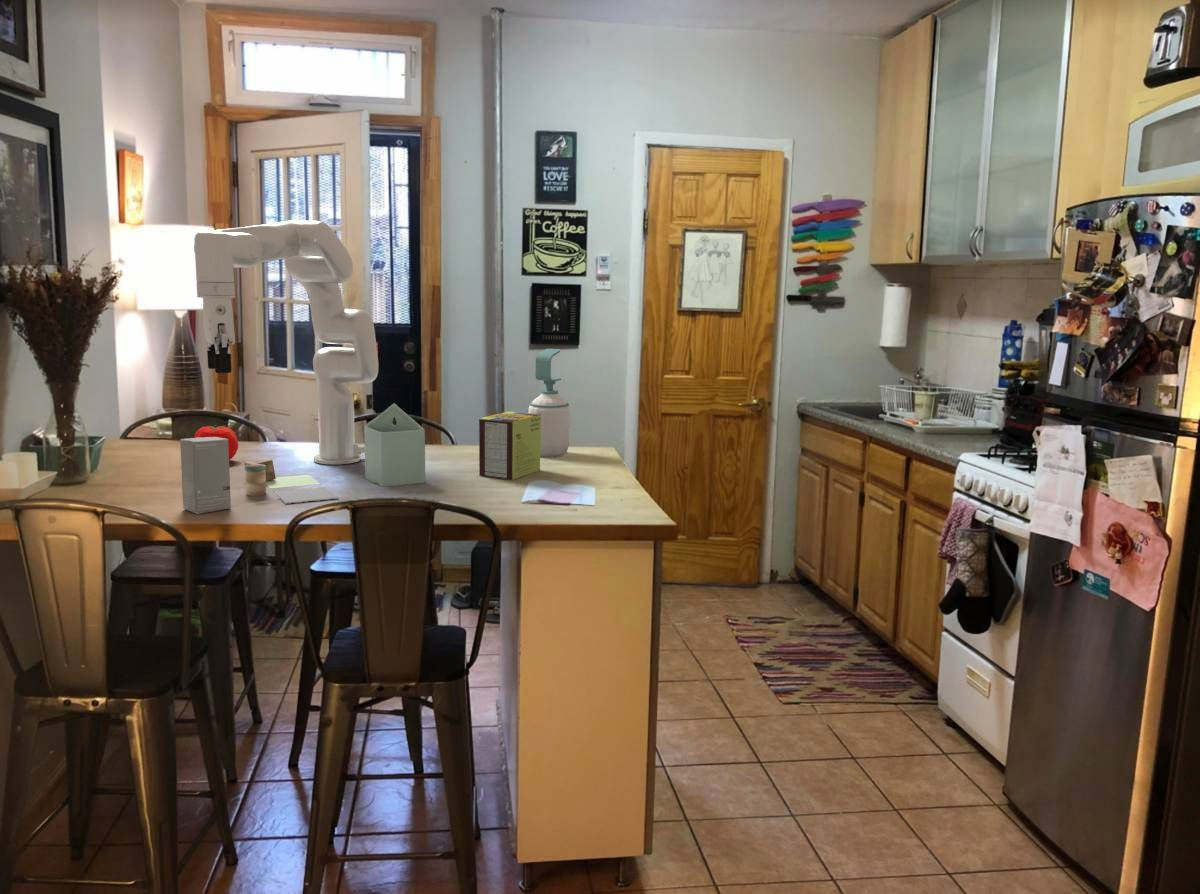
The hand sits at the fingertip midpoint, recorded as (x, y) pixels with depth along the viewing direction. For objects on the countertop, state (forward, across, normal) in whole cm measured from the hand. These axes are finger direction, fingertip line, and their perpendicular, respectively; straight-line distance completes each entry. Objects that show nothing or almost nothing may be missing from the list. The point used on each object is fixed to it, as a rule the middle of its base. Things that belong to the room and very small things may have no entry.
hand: (219, 370), depth 205 cm
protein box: (+31, +7, -73) cm, 79 cm away
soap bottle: (+30, +26, -95) cm, 103 cm away
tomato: (+31, +52, -6) cm, 61 cm away
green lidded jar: (+30, +8, -8) cm, 32 cm away
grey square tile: (+30, +2, -18) cm, 35 cm away
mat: (+30, +18, -18) cm, 39 cm away
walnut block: (+30, +22, -12) cm, 39 cm away
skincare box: (+31, -1, +4) cm, 31 cm away
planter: (+31, +8, -40) cm, 51 cm away
